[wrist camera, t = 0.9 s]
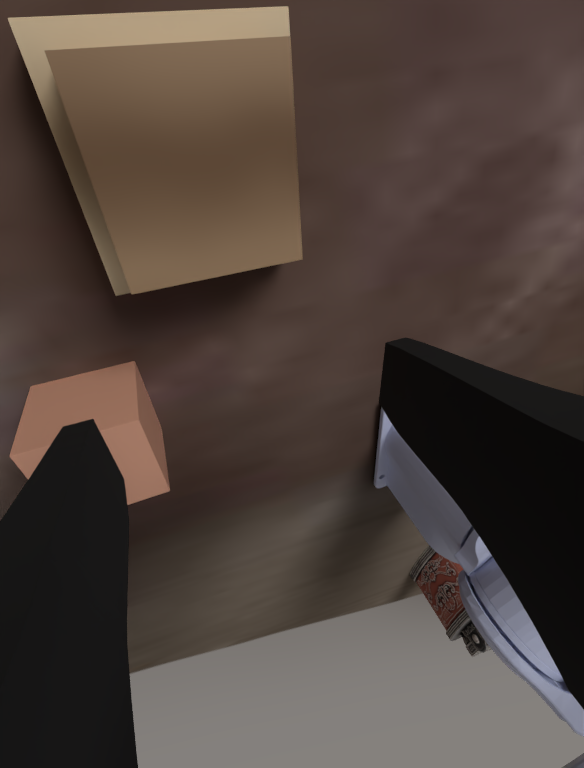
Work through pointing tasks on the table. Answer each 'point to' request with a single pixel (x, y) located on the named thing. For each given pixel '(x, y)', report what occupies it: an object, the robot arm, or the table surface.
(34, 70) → the oak slab
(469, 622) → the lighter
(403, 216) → the table surface
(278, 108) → the tan wooden flat block
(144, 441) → the terracotta cube
